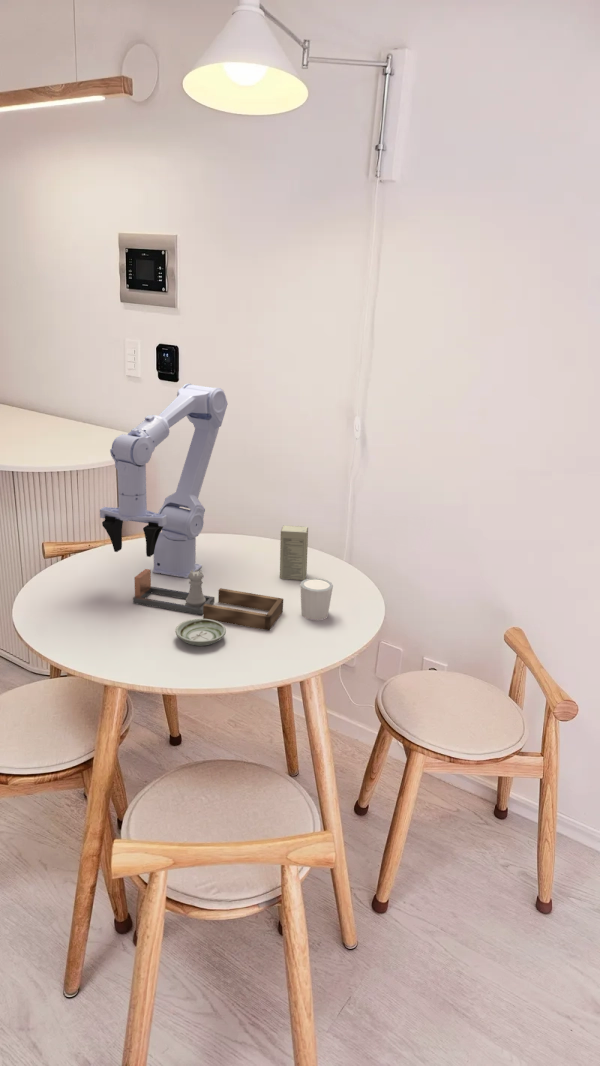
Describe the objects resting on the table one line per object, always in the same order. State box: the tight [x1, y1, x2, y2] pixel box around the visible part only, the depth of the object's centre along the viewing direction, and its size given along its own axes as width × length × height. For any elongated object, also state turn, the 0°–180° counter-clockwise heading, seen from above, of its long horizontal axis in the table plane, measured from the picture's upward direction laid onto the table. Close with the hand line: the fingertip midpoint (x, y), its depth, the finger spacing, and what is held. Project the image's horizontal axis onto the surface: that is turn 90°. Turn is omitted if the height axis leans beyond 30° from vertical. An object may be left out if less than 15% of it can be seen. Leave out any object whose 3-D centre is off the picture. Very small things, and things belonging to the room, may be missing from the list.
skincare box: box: [279, 525, 309, 581], centre depth 165 cm, size 6×4×12 cm
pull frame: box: [132, 568, 216, 616], centre depth 149 cm, size 16×7×6 cm, turn 75°
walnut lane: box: [202, 587, 284, 631], centre depth 146 cm, size 14×9×3 cm, turn 75°
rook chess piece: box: [184, 569, 206, 608], centre depth 148 cm, size 4×4×8 cm
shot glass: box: [299, 577, 334, 621], centre depth 147 cm, size 7×7×7 cm
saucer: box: [174, 618, 227, 647], centre depth 135 cm, size 10×10×2 cm
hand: (134, 552), depth 151 cm, fingers open, 7 cm apart
